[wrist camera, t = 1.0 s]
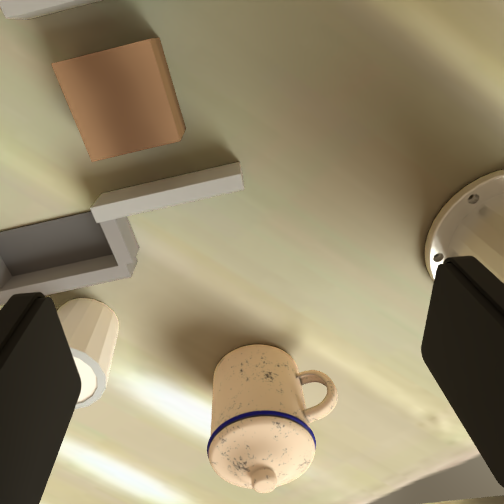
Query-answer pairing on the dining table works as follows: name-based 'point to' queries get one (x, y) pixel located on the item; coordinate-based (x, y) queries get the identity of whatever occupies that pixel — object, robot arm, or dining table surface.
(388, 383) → the dining table surface
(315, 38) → the dining table surface
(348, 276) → the dining table surface
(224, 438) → the teacup with lid
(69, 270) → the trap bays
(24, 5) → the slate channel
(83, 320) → the shot glass
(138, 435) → the dining table surface
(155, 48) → the walnut block
